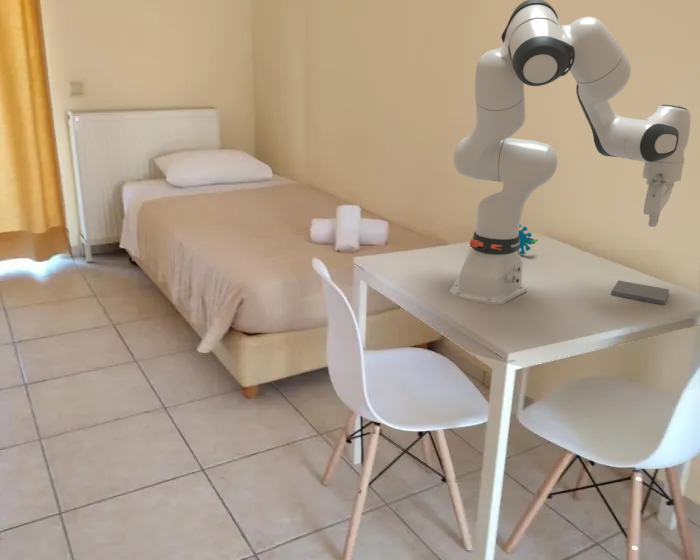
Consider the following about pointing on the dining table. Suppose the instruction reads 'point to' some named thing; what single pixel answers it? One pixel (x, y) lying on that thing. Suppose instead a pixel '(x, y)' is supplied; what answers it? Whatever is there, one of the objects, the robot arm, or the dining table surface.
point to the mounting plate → (640, 292)
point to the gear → (525, 240)
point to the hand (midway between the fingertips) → (652, 225)
